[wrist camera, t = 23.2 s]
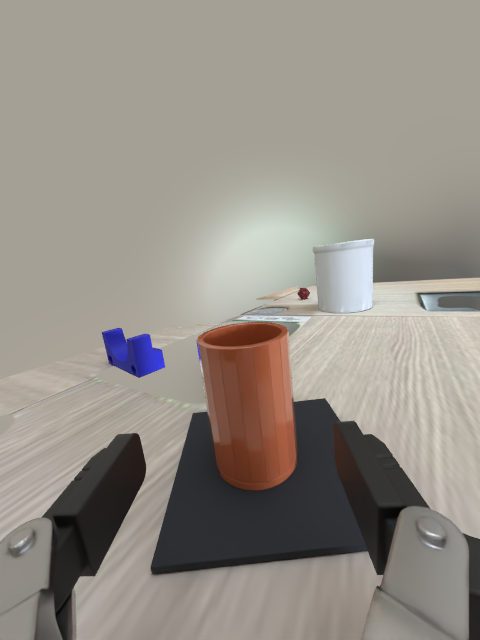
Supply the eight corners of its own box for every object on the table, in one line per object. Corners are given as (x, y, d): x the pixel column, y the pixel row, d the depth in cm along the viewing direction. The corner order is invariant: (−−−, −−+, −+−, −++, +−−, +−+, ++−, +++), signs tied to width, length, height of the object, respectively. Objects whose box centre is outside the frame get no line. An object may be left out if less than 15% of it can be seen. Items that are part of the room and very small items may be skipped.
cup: (212, 495, 17) (189, 353, 15) (218, 434, 23) (203, 327, 21) (307, 485, 17) (297, 341, 15) (288, 426, 23) (279, 318, 21)
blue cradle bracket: (165, 367, 42) (158, 332, 41) (139, 377, 39) (131, 340, 38) (132, 355, 50) (126, 325, 49) (109, 363, 47) (101, 332, 46)
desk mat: (151, 574, 13) (150, 567, 13) (193, 417, 27) (192, 413, 27) (419, 545, 13) (419, 537, 13) (325, 402, 27) (325, 398, 27)
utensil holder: (353, 316, 61) (351, 239, 57) (305, 310, 73) (301, 247, 69) (385, 305, 69) (386, 237, 65) (337, 301, 81) (335, 244, 77)
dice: (310, 299, 91) (310, 288, 90) (297, 300, 92) (297, 289, 91) (310, 297, 95) (309, 286, 94) (297, 298, 96) (297, 287, 95)
